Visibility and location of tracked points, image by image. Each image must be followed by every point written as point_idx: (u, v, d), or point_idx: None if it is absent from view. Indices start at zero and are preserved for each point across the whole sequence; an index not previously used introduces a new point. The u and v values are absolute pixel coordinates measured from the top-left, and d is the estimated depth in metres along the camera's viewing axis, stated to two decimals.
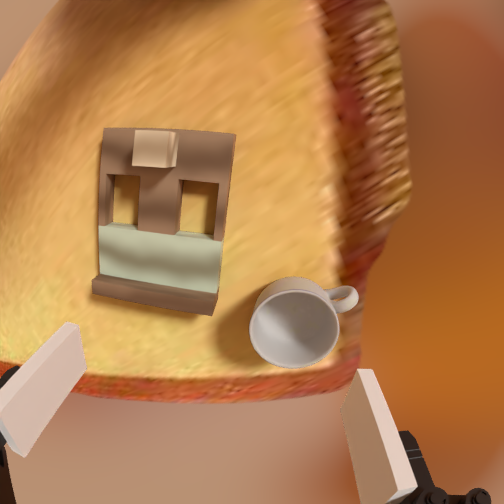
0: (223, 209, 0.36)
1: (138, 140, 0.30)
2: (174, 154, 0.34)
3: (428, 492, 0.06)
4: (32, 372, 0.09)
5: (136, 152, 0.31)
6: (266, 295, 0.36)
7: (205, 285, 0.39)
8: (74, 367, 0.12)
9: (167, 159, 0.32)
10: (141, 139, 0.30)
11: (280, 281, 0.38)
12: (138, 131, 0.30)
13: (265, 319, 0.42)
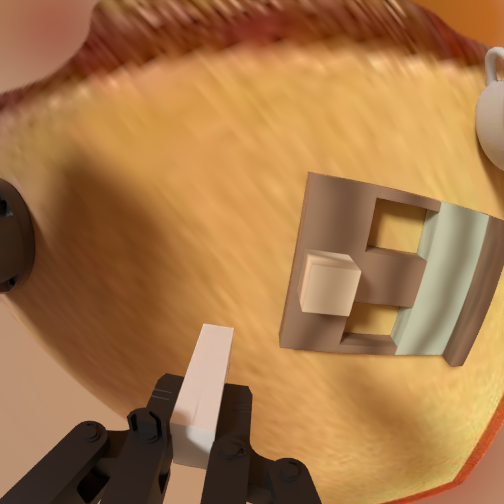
0: (407, 194, 0.25)
1: (317, 306, 0.24)
2: (336, 256, 0.26)
3: (219, 444, 0.08)
4: (203, 377, 0.11)
5: (333, 310, 0.24)
6: None
7: (480, 228, 0.25)
8: None
9: (348, 266, 0.23)
10: (317, 303, 0.24)
11: (485, 135, 0.21)
12: (305, 307, 0.24)
13: None
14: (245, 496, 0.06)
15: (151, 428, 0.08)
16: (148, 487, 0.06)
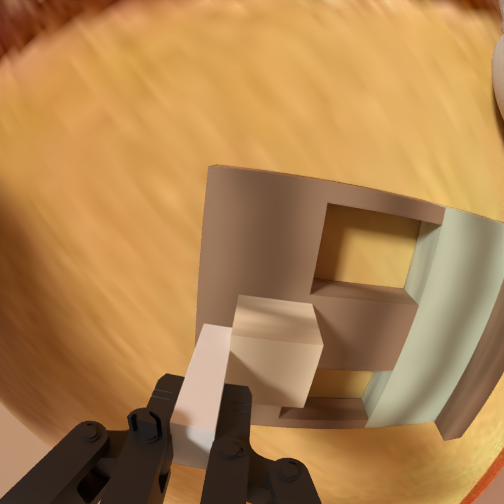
0: (385, 196, 0.15)
1: None
2: (287, 310, 0.15)
3: (219, 444, 0.08)
4: (203, 377, 0.11)
5: (275, 400, 0.14)
6: None
7: None
8: None
9: (302, 335, 0.13)
10: None
11: None
12: None
13: None
14: (245, 496, 0.06)
15: (151, 428, 0.08)
16: (148, 487, 0.06)
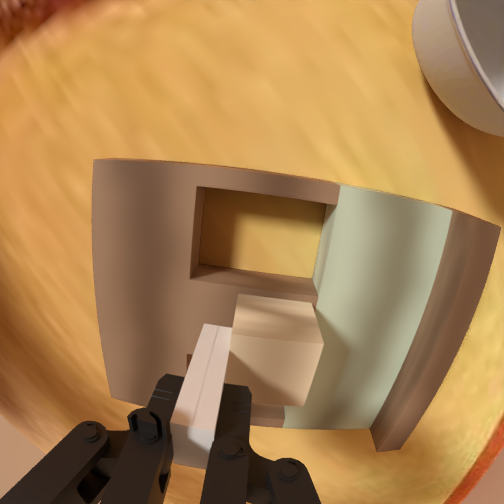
0: (260, 176, 0.15)
1: None
2: (287, 309, 0.15)
3: (219, 444, 0.08)
4: (203, 377, 0.11)
5: (275, 399, 0.14)
6: (468, 84, 0.09)
7: (434, 234, 0.15)
8: None
9: (302, 334, 0.13)
10: None
11: (428, 58, 0.11)
12: None
13: None
14: (245, 496, 0.06)
15: (152, 428, 0.08)
16: (149, 487, 0.06)
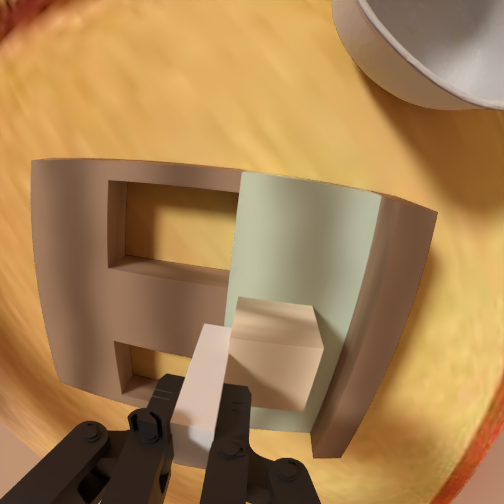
0: (162, 167, 0.14)
1: None
2: (287, 312, 0.15)
3: (219, 444, 0.08)
4: (203, 377, 0.11)
5: (275, 403, 0.14)
6: (376, 47, 0.09)
7: (358, 222, 0.15)
8: None
9: (302, 338, 0.13)
10: None
11: (342, 30, 0.11)
12: None
13: None
14: (244, 496, 0.06)
15: (152, 428, 0.08)
16: (149, 487, 0.06)
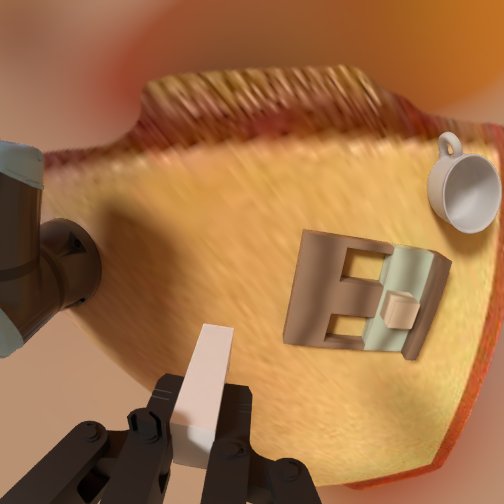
0: (369, 244, 0.40)
1: (396, 324, 0.39)
2: (404, 294, 0.40)
3: (219, 444, 0.08)
4: (203, 377, 0.11)
5: (403, 326, 0.39)
6: (443, 215, 0.34)
7: (426, 263, 0.40)
8: None
9: (413, 301, 0.38)
10: (396, 322, 0.39)
11: (431, 199, 0.36)
12: (389, 325, 0.39)
13: (458, 211, 0.38)
14: (245, 496, 0.06)
15: (151, 428, 0.08)
16: (148, 487, 0.06)
